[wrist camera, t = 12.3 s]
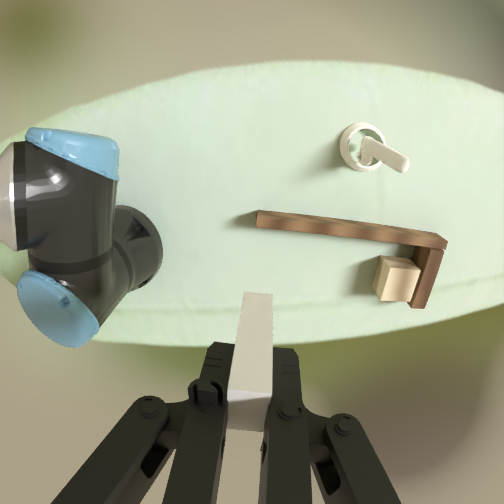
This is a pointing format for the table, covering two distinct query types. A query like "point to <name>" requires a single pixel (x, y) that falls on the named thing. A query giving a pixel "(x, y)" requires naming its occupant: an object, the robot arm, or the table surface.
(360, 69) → the table surface
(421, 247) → the guide rail
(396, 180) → the table surface
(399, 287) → the beige wooden block
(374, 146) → the hook
